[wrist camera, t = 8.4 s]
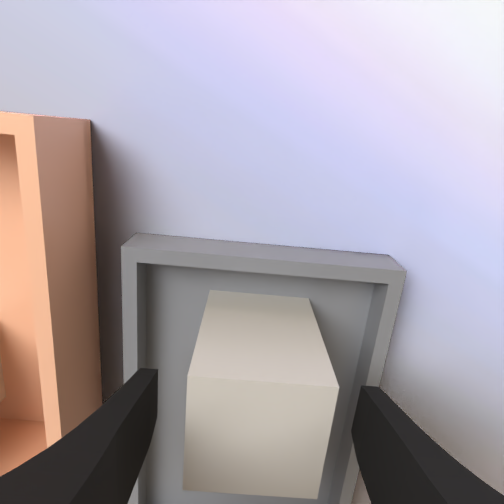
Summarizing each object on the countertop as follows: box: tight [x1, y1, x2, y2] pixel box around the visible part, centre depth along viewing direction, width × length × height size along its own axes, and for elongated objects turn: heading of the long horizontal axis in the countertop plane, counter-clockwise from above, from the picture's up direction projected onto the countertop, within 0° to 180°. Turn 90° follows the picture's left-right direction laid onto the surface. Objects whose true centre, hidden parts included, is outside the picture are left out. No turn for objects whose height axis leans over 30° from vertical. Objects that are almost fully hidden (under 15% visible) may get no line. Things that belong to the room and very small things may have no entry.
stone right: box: [182, 290, 339, 499], centre depth 14 cm, size 4×4×6 cm
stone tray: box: [121, 233, 407, 504], centre depth 18 cm, size 16×11×2 cm
